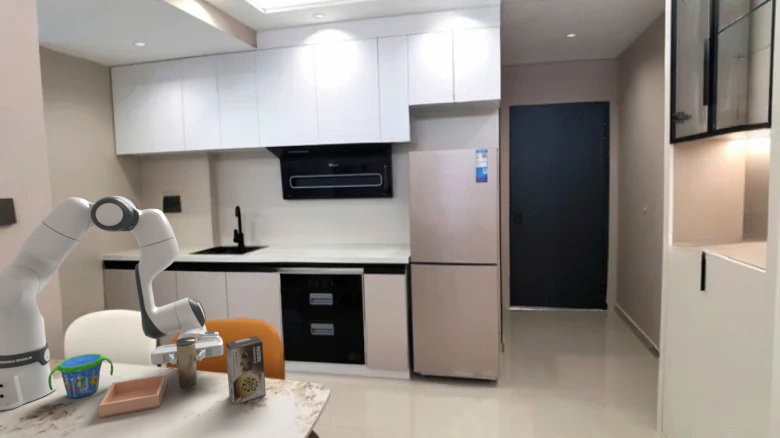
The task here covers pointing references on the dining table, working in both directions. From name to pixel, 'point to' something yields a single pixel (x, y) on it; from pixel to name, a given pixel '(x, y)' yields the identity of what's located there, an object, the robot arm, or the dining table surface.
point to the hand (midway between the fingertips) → (186, 360)
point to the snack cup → (81, 374)
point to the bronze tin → (186, 363)
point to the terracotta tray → (133, 396)
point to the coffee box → (245, 369)
